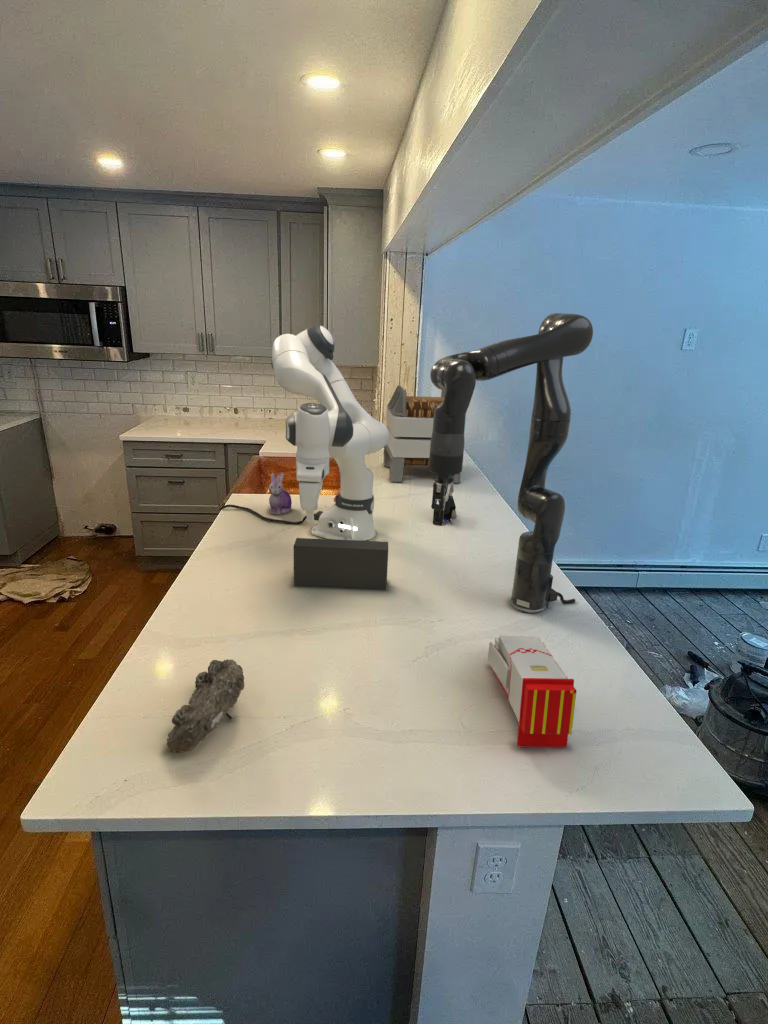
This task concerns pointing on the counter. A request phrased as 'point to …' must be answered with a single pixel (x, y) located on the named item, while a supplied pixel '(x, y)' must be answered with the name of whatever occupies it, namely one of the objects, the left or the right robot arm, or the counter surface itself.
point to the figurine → (278, 496)
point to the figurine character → (450, 511)
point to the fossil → (206, 705)
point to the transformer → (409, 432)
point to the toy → (534, 690)
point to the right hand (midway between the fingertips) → (441, 518)
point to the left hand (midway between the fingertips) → (312, 514)
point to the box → (340, 563)
